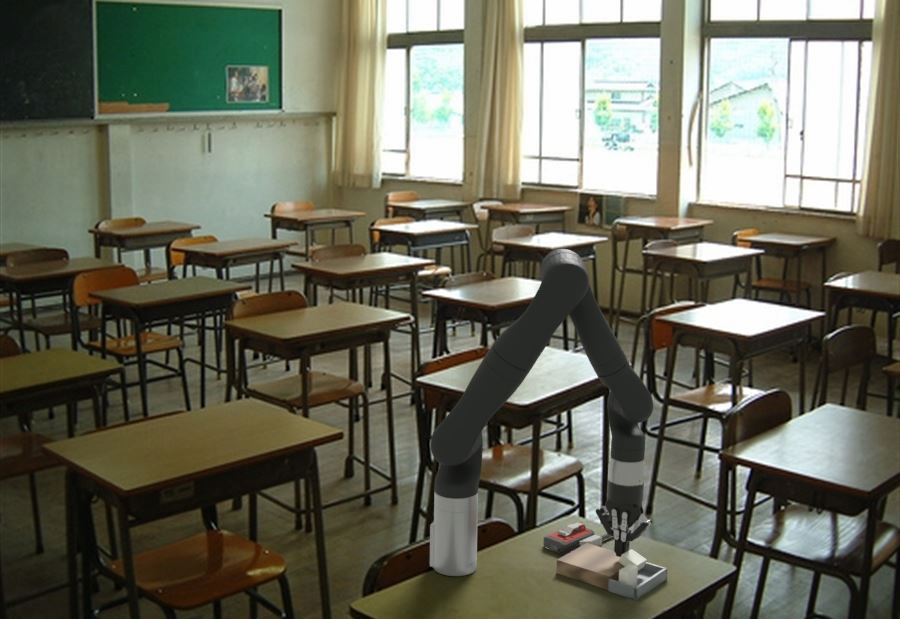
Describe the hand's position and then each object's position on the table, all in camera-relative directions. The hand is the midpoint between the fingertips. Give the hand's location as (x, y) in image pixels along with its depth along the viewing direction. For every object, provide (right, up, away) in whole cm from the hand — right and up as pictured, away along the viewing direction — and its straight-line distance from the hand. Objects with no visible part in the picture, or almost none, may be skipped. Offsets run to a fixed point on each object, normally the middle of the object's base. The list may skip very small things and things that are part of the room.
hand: (621, 555), depth 240 cm
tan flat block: (-5, -4, +1) cm, 6 cm away
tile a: (0, -3, -6) cm, 7 cm away
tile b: (+2, -1, -2) cm, 3 cm away
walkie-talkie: (-7, -1, +18) cm, 19 cm away
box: (+3, -5, -5) cm, 7 cm away
